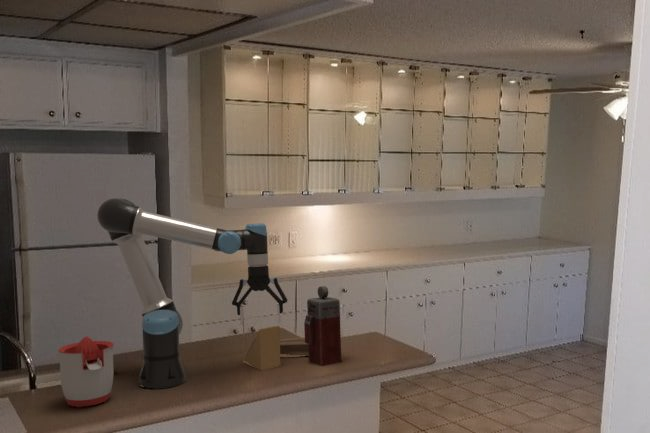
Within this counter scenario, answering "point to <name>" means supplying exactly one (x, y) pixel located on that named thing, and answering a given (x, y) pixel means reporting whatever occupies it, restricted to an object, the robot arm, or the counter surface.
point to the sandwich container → (265, 349)
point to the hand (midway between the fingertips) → (260, 323)
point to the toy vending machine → (323, 329)
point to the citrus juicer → (86, 372)
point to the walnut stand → (294, 346)
